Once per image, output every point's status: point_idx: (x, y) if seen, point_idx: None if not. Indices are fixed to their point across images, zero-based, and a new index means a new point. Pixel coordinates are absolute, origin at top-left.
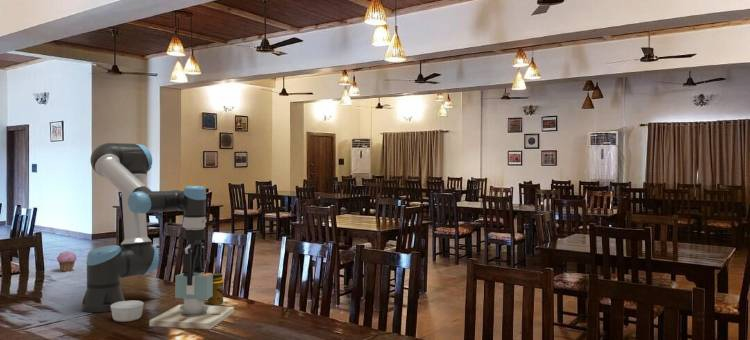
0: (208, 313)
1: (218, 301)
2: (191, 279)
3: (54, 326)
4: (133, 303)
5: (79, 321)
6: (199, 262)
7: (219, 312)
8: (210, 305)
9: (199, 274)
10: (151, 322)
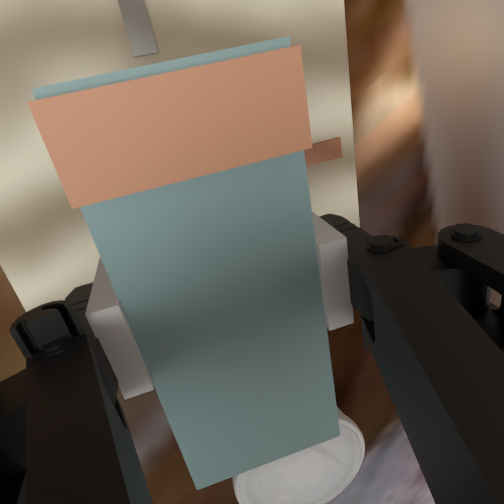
0: None
1: None
2: (348, 239)
3: (412, 489)
4: (285, 464)
5: (357, 487)
6: (124, 472)
7: (78, 29)
8: None
9: (166, 284)
10: None
